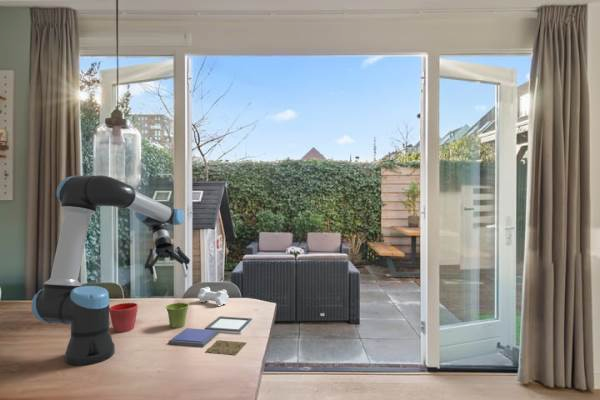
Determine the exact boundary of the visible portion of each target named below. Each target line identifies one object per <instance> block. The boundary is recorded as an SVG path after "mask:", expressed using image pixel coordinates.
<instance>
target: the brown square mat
mask: <svg viewBox="0 0 600 400" xmlns="http://www.w3.org/2000/svg"><path fill="white" fill-rule="evenodd" d="M246 344H247V342H244V341H233V340H232V341H231V340H221V339H218V340H216V341H215V342H214V343H213V344H212V345H211V346H209V347H208V348H207V349H206V350H205V351H204V354H214V355H226V356H236V355H238V354H239V352H240V351H241V350H242V349H243V348H244V347H245V346H246Z"/></svg>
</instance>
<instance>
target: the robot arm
mask: <svg viewBox="0 0 600 400" xmlns="http://www.w3.org/2000/svg"><path fill="white" fill-rule="evenodd" d="M56 198H57V201H58V202H59V203H60V204H61V205H60V209H61V211H62V212H64V213H63V218H62V223H61V226H60V227H61V228H60V231H59V238H58V241H57V246H56V251H55V256H54V259H53V264H52V269H51V273H50V278H49V279H48V280H46V281H45V282H44V283H43V287H42V289H40V290H38V291H37V293H35V294H34V296H33V298H32V300H31V311H32V315H33V316H34V317H35V318H36V319H37V320H38V321H40V322H44V323H48V324H60V325H68V326H70V338H69V341H68V344H67V346H66V351H65V352H64V362H65V363H66V364H68V365H71V366H85V365H93V364H96V363H99V362H103V361H105V360H107V359H109V358H111V357H113V355H115V352H116V349H115V347H116V346H115V343H114V340H113V339H112V335H111V332H110V311H109V308H110V303H111V301H110V300H111V299H110V294H109V290H107V289H106V288H105V287H103V286H96V285H83V286H82V284H81V282H79V277H80V272H81V267H82V266H81V265H82V261H83V255H84V251H85V245H86V240H87V237H88V231H89V225H90V219H91V217H92V216H93V215H95V214H96V213H97V207H116V208H119V209H122V210H123V209H124V210H125V209H128V210H130V211H131V210H132V211H133V212H135V217H136V218H137V219H138V221H140V222H141V223H142V224H143V225H145V226H146V227H147V228H148V229H150V231H151V234H152V238H153V243H154V248H155V249H152V248H150V249H149V253H148V257H147V259H146V262H145V264H144V266H143V267H144V269H148V271H149V274H150V276H151V275H152V278H153V282H157V279H158V276H157V272H156V268H155V267H156V266H155V265H156V264H157V262H158V261H159V260H160V259H161V258H162V259H166V258H168V259H169V258H171V259H174V261H176V262H178V263H179V264H180V265H181V268H182V272H183V277H184V278H187V276H188V269H189V267H188V265H189V264H190V261H191V259H190V258H189V257H188V255H186V254H185V253H184V252H183V251H182V250H181V248H180V246H176V247H175V248H174V247H173V245H172V240H171V237H170V233H169V230H168V225H169V226H170V225H171V226H176V225H177V226H179V225H181V224H183V223H184V221H185V212H184V210H182V209H181V208H172V207H170V206H167V205H165V204H163V203H162V202H159V201H157V200H155V199H153V198H151V197H148V195H145V194H142V193H140V192H138V191H136V189H135V188H134V187H133V186H132V185H129V183H125V182H124V181H121V180H119V179H117V178H114V177H111V176H107V175H101V174H100V175H78V174H77V175H73V176H72V175H71V176H67V177H66V178H63V180H61V181H60V182H59V184H58V185H57V188H56ZM154 254H156V256H155V258H154V259H153V260H152V257H153V255H154ZM151 260H152V261H151Z"/></svg>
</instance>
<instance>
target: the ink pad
mask: <svg viewBox="0 0 600 400" xmlns="http://www.w3.org/2000/svg"><path fill="white" fill-rule="evenodd" d="M219 334H220V332H219V330H206V329H205V328H193V327H192V328H191V327H187V328H185V329H184V330H182V331H181V332H179V333H178V334H176V335H175V336H174V337H172V338H171V339H169V340H168V345H174V344H176V345H177V346H187V345H188V346H189V347H200V348H204V347H205V346H206V345H208V344H209V343H210V342H211V341H212V340H213V339H214V338H216V337H217V335H219Z"/></svg>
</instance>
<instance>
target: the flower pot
mask: <svg viewBox="0 0 600 400" xmlns="http://www.w3.org/2000/svg"><path fill="white" fill-rule="evenodd" d="M138 307H139V305H138V303H135V302H124V303H117V304H114V305H112V306H111V305H110V306H109V317H110V320H111V324H112V328H113V331H114V332H115V333H125V332H130V331H132V330H134V328H135V326H136V325H135V324H136V320H137V319H136V318H137V315H138Z"/></svg>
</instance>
